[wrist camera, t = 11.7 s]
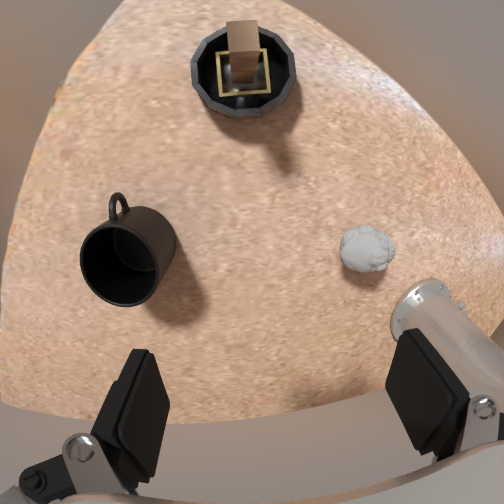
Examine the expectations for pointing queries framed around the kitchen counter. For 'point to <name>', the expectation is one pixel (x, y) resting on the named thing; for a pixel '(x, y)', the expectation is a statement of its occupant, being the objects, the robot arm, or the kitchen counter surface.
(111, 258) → the mug
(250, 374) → the kitchen counter surface
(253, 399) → the kitchen counter surface
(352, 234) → the frog figurine
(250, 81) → the brown rectangular bar
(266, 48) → the dark grey round tray
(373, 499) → the robot arm
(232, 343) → the kitchen counter surface
